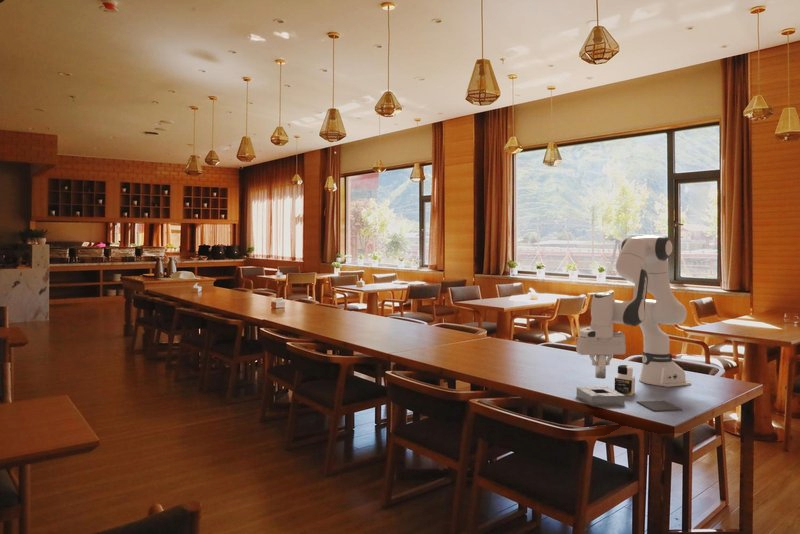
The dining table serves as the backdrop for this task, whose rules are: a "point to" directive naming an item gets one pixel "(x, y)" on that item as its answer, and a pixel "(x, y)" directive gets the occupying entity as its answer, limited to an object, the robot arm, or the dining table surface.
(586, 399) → the block
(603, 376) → the steel peg
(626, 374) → the medicine bottle
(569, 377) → the dining table surface
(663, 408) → the rubber mat
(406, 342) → the dining table surface
